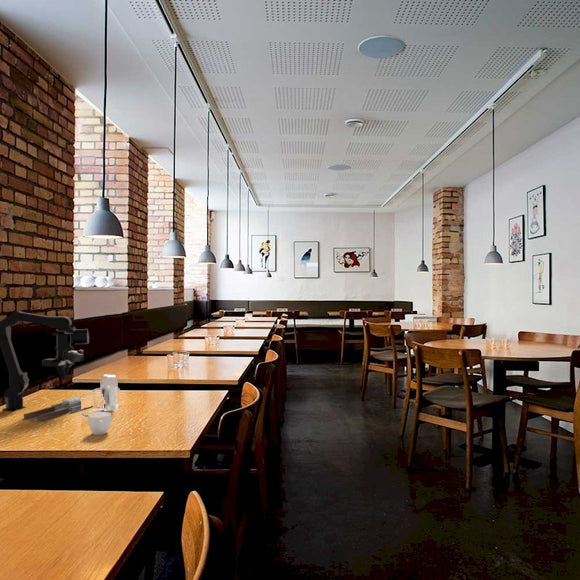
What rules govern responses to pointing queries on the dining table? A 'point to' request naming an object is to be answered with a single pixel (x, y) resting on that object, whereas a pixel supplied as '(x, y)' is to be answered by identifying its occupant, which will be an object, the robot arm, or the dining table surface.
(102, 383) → the beer glass
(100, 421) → the cup
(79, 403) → the grey block
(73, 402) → the grey cube
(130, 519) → the dining table surface
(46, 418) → the slot board
